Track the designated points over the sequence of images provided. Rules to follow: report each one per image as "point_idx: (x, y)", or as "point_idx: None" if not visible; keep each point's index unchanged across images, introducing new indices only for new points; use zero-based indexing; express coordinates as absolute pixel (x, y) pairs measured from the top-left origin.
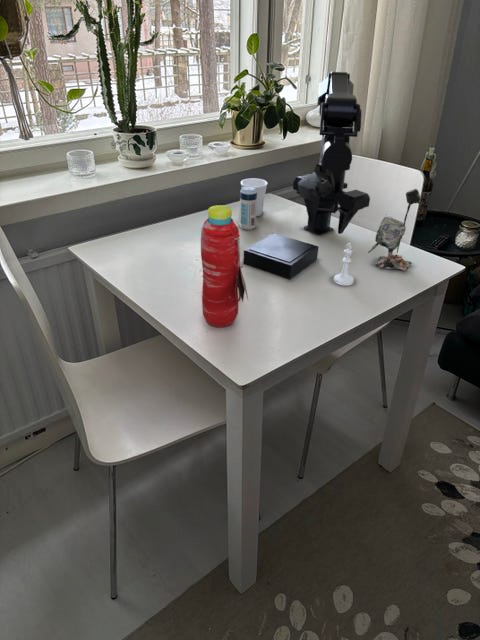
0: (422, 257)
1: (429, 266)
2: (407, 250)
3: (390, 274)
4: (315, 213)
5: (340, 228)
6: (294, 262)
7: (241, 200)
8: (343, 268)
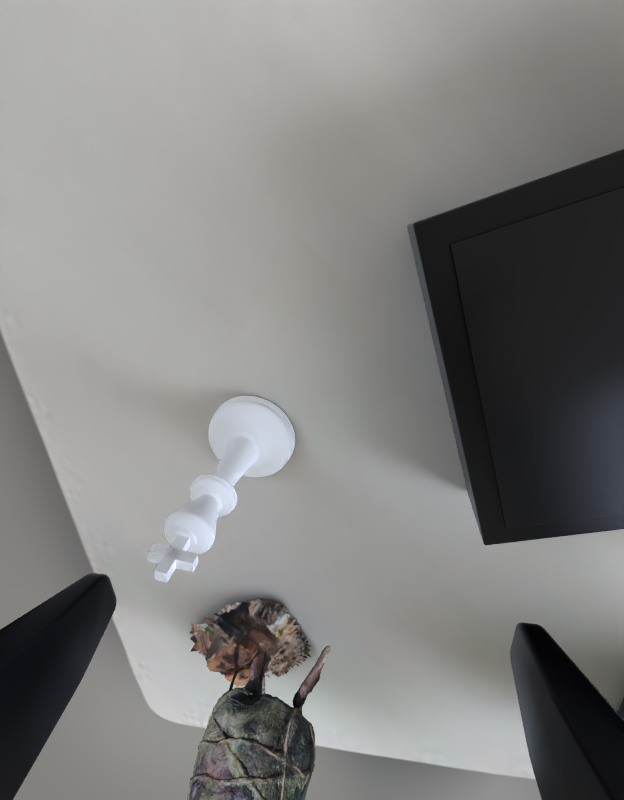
0: None
1: (192, 684)
2: None
3: (207, 584)
4: (539, 778)
5: (14, 622)
6: (430, 279)
7: None
8: (230, 458)
